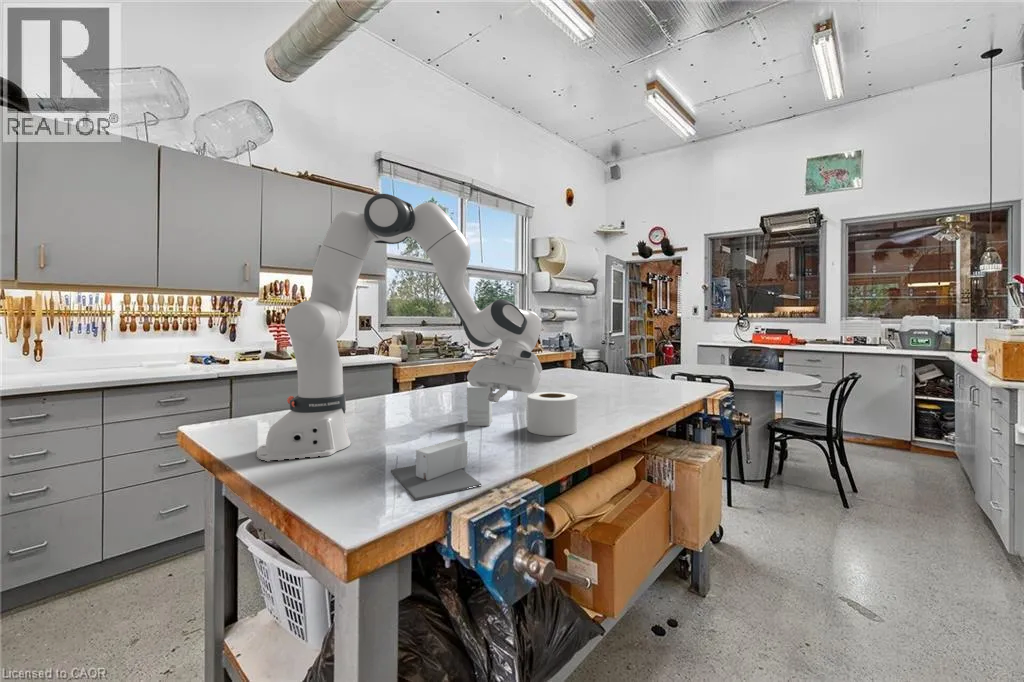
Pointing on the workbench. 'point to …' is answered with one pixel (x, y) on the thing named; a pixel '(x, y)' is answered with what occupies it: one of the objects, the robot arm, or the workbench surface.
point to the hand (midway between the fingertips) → (491, 400)
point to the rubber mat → (433, 482)
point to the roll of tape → (552, 413)
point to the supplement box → (478, 407)
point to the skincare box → (441, 459)
